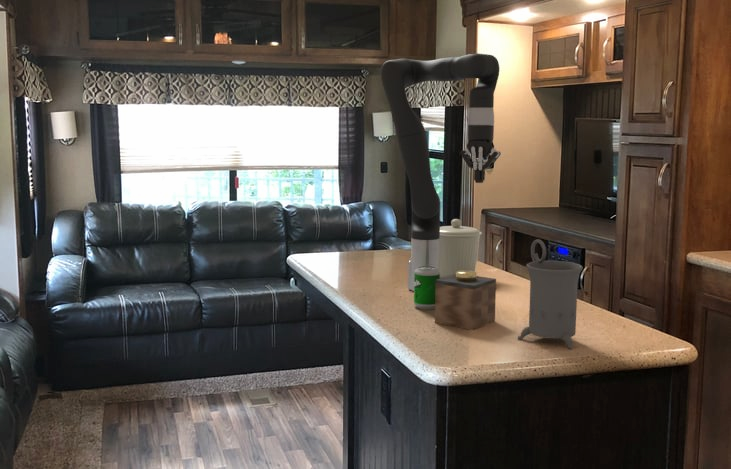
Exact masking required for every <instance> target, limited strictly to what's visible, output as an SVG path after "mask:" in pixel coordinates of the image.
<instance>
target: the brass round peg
mask: <svg viewBox="0 0 731 469" xmlns="http://www.w3.org/2000/svg"><path fill="white" fill-rule="evenodd" d="M476 276H478V275H477V271H476V270H475V271H469V270H461V271H456V280H458V281H476Z"/></svg>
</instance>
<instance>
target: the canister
mask: <svg viewBox="0 0 731 469" xmlns="http://www.w3.org/2000/svg"><path fill="white" fill-rule="evenodd" d="M450 224H451V225H444V226H443V225H442V226H440V242H439V271H440V279H441V278H445V277H448V276H452V275H455V274H456V271H461V270H469V271H475V272H476V266H477V261H478V260H477V259H478V253H479V244H480V238H481V235H483V232H482V231H479V229H478V228H475V227H472V226H464V225H462V221H461V220H460V219H459V218H453V219H452V220H451V222H450Z"/></svg>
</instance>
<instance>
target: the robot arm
mask: <svg viewBox="0 0 731 469" xmlns="http://www.w3.org/2000/svg"><path fill="white" fill-rule="evenodd" d="M499 75H500V63H499V61H498V58H496V56H495V55H492V54H485V53H469V54H464V55H462V56H450V57H443V58H437V59H432V60H417V59H408V58H397V59H389V60H386V61H385V62H384V63H383V64H382V66H381V68H380V79H381V83H382V87H383V90H384V93H385V96H386V99H387V102H388V106H389V108H390V113H391V117H392V122H393V124H394V130H395V135H396V140H397V145H398V148H399V152H400V156H401V160H402V162H403V166H404V169H405V172H406V175H407V177H408V182H409V190H410V191H409V192H410V199H411V200H410V201H411V228H410V229H411V230H410V232H411V235H410V236H411V238H410V242H411V244H410V247H411V249H410V251H411V252H410V260H408V266H407V268H408V269H407V272H408V273H407V275H408V276H407V290H411V291H412V292H414V271H415V270H416V269H417V267H420V266H433V267H437V269H438V270H439V242H440V227H441V199H440V196H439V194H438V193H437V190H436V187H435V182H434V180H433V176H432V172H431V163H430V162H431V161H430V150H429V143H428V139H427V134H426V130H425V126H424V124H423V122H422V120H421V119H420V117H419V116H418V115H417V113H416V112H415V111H414V109H413V108H412V106H411V105H410V103H409V100H408V97H407V92H406V89H407V88H409V87H411V86H414V85H418V84H422V83H424V82H434V81H435V82H457V81H463V80H466V79H478V80H477V84H476V87H472V88H471V89H470V91H469V105H468V107H469V108H468V113H467V114H468V115H467V116H468V118H467V140H468V141H467V144H466V147H465V148H464V149H463V150H460V152H459V154H460V156H461V157H462V159H463V161H464V162H465V163H466V166H468V168H471V169H473V180H474V181H475V183H477V184H482V183H484V182H485V179H486V171H487V170H488V169H491V168H492V166H494V164H495V163H496V161H497V160H498V159H499V157H500V156H501V151H500V150H499V151H498V150H497V149H495V144H494V138H495V137H494V134H495V132H494V131H495V130H494V129H495V112H494V102H495V99H494V98H495V97H494V94H495V91H496V87H497V83H498V80H499ZM489 156H490V157H489Z"/></svg>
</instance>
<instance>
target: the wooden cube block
mask: <svg viewBox="0 0 731 469" xmlns="http://www.w3.org/2000/svg"><path fill="white" fill-rule="evenodd" d="M496 292H497V278H495V277H485V276H479V275H476V281H458V280H456V274H455V275H452V276H448V277H445V278H440V279H437V280H436V291H435V309H434V323H435V324H439V325H444V326H449V327H456V328H461V329H466V330H471V331H474V330H477V329H479V328H481V327H485V326H486V325H489V324H491V323H494V322H495V321H496V295H497V293H496Z"/></svg>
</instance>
